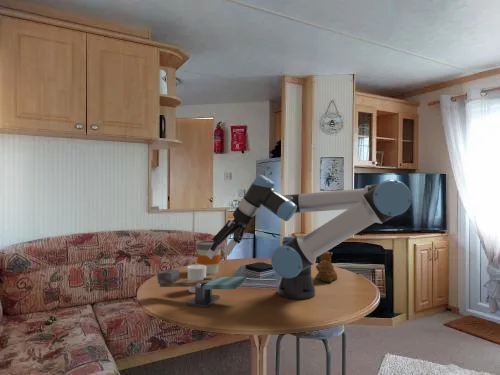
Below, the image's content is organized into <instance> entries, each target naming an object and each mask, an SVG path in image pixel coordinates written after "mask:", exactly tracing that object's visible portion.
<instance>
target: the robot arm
mask: <svg viewBox="0 0 500 375" xmlns="http://www.w3.org/2000/svg"><path fill="white" fill-rule="evenodd" d="M274 186H275V182H274V181H273V180H271V178H269V177H267V176H265V175H262V174H258V175H257V176H256V177H255V179H254V180H253V182H252V183H251V185H249V188H248V189H247V191H246V192H245V194H244V196H243V198H241V199H240V202H239V204H238V206H237V207H236V208H235V210H234V211H233V213H232V216H233V220H231V219H229V220H227V222H226V224H225V225H224V226H222V228H221V229H219V231H218V232H217V233H216V234H215V235H214V237H212V240H211V241H214V242H213V244H212V246H211V247H210V249H209V250H208V252H207V253H206V255H207V256H208V257H209V258H210V259H212V258H213V256H214V254H215V253H216V251H217V250H218V248H219V247H220V244H221V245H222V243H223V242H224V241H225V240H226V239H227V238H228V237H229V236H231V235H233V237H232V238H231V239H230V241H229V242H228V244H227V245H226V247H225V249H224V250H223V253H224V254H225V255H226V256H230V254H231V253H232V252H233V250H234V248H235V247H236V245H237V244H238V245H239V244H240V243H241V241H242V240H243V237H244V234H245V233H246V232H245V231H246V230H247V227H248V225H250V223H251V222H252V220H253V219H254V217H255V216H256V214H257V213H258V211H259V209H260V208H261V207H262V206H263V207H264V208H266V209H267V211H268V210H269V211H270V212H271V213H273V214H274V215H276V216H277V218H279V219H281V220H283V221H284V222H289V221H290V219H291V218H292V217H294V214H299V213H314V212H326V211H327V212H329V211H339V210H341V211H343V210H344V211H343V212H342V213H339V214H338V215H337V216H335V217H334V218H331V220H328V221H327V222H325V223H324V224H322V225H320V226H318V227H317V228H316V229H314V230H313V231H311V232H309V233H307V234H306V235H304V236H302V235H297V236H295V237H294V236H284V237H282V242H281V244H282V245H280V246H278V247H277V248H275V250H274V251H273V253H272V255H271V260H270V262H271V266H272V269H273V272H275V273H276V274H277V275H278V276H279V277H280V280H279V283H278V287H277V294H278V296H280V297H283V298H287V299H292V300H293V299H295V300H304V299H311V298H313V297H315V296H316V287H315V284H314V280H313V278H312V266H313V265H314V264H315V263H316V262H317V258H319V257H320V255H321V254H323V253H325V252H326V251H328V252H329V251H330V250H331V249H333V248H334V247H337V245H339V244H341V243H342V242H344V241H346V240H348V239H349V238H351V237H353V236H354V235H356V234H358V233H360V232H361V231H363V230H365V229H366V228H368V227H369V226H371V225H373V224H375V223H377V224H383V223H385V222H387V221H390V220H391V219H393V218H394V217H395V216H396V217H397V216H399V215H402V214H404V213H405V212H407V211H408V209H409V208H410V206H411V204H412V200H413V199H412V198H413V197H412V196H413V195H412V192H411V190H410V188H409V187H408V186H407V184H406V183H404V182H403V181H401V180H398V179H391V178H390V179H386V180H383V181H381V182H379V183H376V184H369V185H365V187H364V188H352V189H343V190H340V189H339V190H331V191H330V190H329V191H320V192H319V191H317V192H310V193H309V192H308V193H296V194H294V193H293V194H285V195H283V194H282V193H280V192H279V191H277V190H276V189H274Z"/></svg>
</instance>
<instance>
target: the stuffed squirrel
mask: <svg viewBox="0 0 500 375" xmlns="http://www.w3.org/2000/svg"><path fill="white" fill-rule="evenodd" d="M332 255H333V252H330V251H329V250H328V251H326V252H325V253H323V254H321V255H320V256H318V259H320V261H319V262H318V264H317V265H315V269H316V271H317V273H316V275H315V277H316V279H317V280H320V281H322V282H324V283H331V282H333V281H335V280H337V279H338V274H337V271H336V270H335V266H334V265H333V263H332Z"/></svg>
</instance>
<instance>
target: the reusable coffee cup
mask: <svg viewBox="0 0 500 375" xmlns="http://www.w3.org/2000/svg"><path fill="white" fill-rule="evenodd" d="M213 242H214V241H213V240H203V241H198V242H196V243H197V244H196V250H197V253H196V257H197V263H198V265H205V266H206V267H207V268H206V275H216V274H218V273H219V267H220V262H221V257H222V253H221V249H222V243H221V244H220V247H219V248H218V250H217V251H216V253H215V254H214V256H213V258H212V259H210V258H209V257H208V256H207V255H206V253H207V252H208V250H209V249H210V247H211V246H212V244H213Z"/></svg>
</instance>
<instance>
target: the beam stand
mask: <svg viewBox="0 0 500 375" xmlns="http://www.w3.org/2000/svg"><path fill="white" fill-rule="evenodd" d="M203 280H213V278H212V277H210V276H208V277H206V278H203ZM204 285H205V283H204V282H196V283H195V293H194V294H195V295H194V297H193V298H192V299H190V300H188V301H187V302H186V306H189V307H197V308H203V309H206V308H208V307H210V306H211V305H213V304H214V303H215V302H217V301H218V300H220V299H221V295H218V294H213V289H204Z"/></svg>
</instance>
